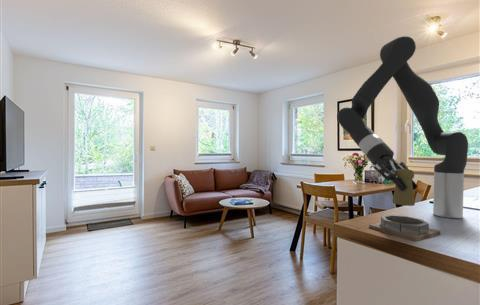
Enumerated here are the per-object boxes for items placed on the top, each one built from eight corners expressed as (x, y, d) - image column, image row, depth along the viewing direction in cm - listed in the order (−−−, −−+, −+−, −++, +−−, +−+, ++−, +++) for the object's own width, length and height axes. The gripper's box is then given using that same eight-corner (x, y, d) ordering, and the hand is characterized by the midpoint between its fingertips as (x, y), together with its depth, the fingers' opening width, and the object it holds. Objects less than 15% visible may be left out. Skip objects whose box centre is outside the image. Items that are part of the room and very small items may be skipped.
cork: (418, 206, 79) (419, 170, 78) (396, 205, 80) (397, 169, 80) (409, 202, 84) (410, 168, 84) (389, 201, 86) (390, 168, 86)
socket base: (394, 222, 92) (394, 212, 92) (440, 234, 79) (440, 222, 79) (369, 227, 85) (369, 217, 85) (414, 241, 73) (414, 228, 73)
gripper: (369, 141, 85) (406, 182, 75) (395, 142, 92) (432, 180, 81) (354, 156, 90) (387, 197, 79) (380, 157, 97) (414, 194, 86)
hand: (410, 188), depth 80 cm, fingers closed on cork, 5 cm apart
